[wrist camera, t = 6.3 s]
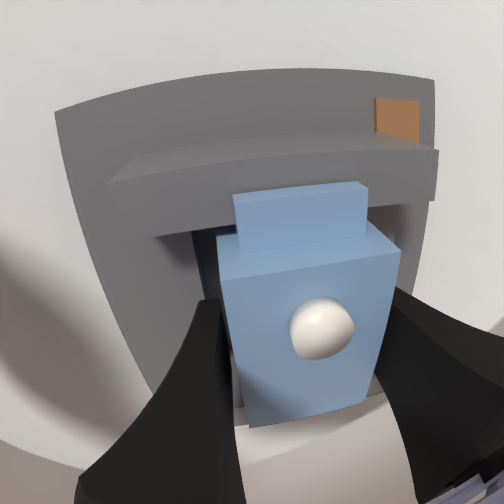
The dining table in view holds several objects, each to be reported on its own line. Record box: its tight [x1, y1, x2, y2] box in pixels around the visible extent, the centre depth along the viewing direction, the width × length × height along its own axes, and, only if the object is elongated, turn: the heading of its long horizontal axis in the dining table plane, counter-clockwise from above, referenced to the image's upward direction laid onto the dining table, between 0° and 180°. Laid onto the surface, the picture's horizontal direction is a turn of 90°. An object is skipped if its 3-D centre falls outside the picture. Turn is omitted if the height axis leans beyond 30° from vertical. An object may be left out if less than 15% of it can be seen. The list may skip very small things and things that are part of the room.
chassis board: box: [54, 68, 439, 426], centre depth 11 cm, size 14×15×4 cm
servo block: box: [215, 181, 401, 428], centre depth 10 cm, size 4×8×6 cm, turn 6°
